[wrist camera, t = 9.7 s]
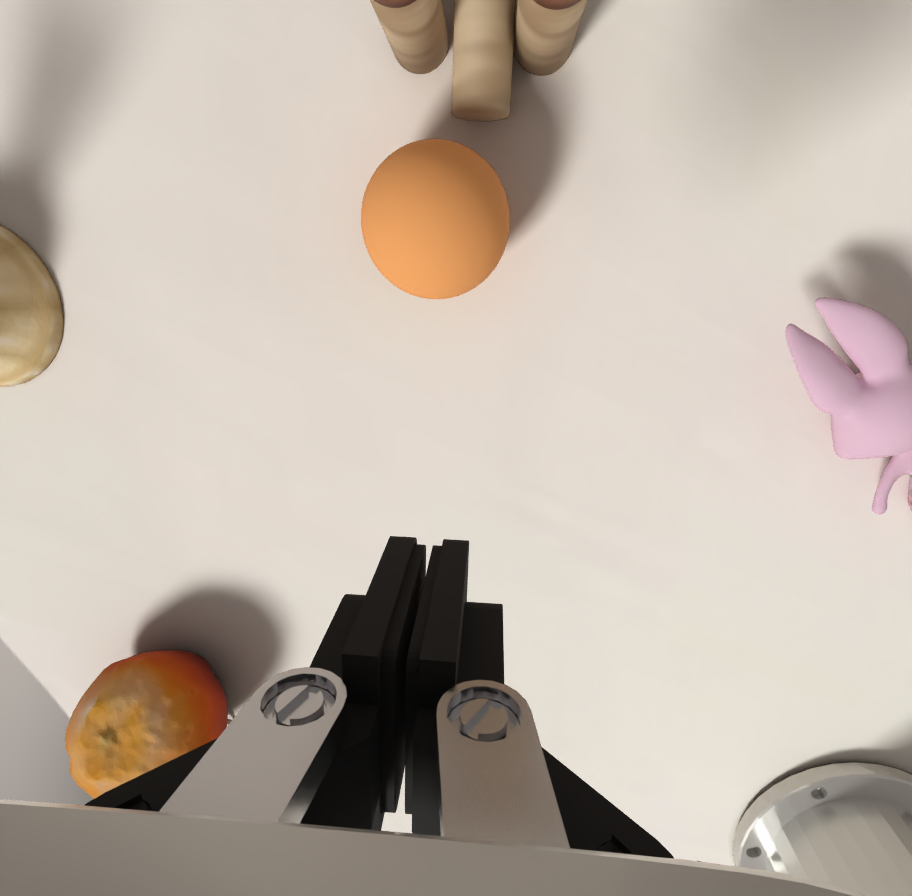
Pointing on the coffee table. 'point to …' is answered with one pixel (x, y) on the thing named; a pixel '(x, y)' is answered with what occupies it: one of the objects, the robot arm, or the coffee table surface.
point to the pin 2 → (546, 33)
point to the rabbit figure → (861, 388)
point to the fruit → (143, 717)
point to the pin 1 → (414, 32)
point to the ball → (435, 219)
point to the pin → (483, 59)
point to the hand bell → (26, 312)
